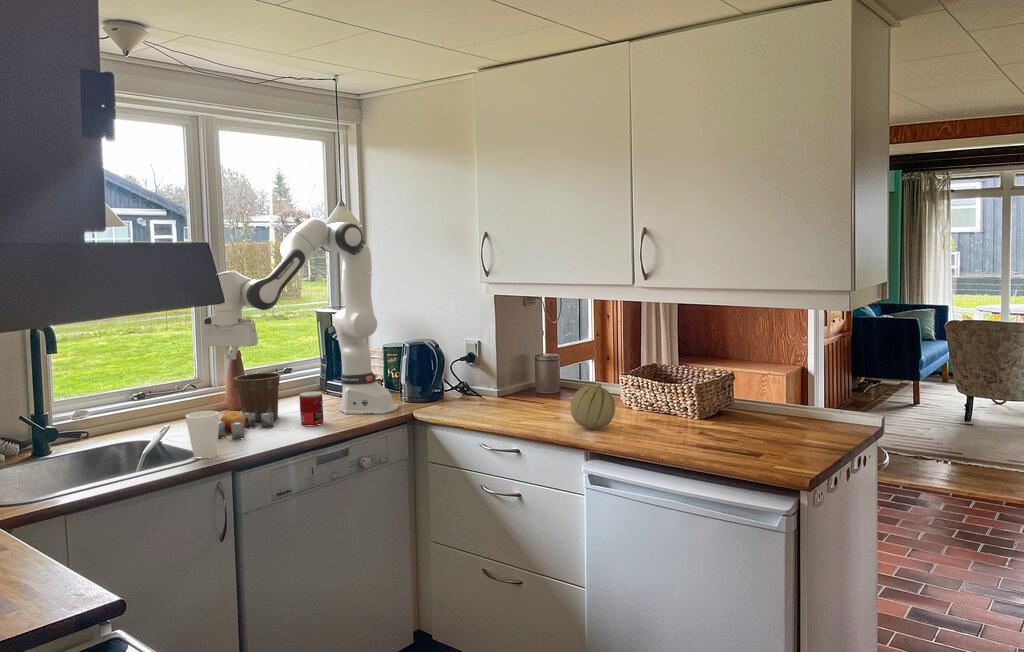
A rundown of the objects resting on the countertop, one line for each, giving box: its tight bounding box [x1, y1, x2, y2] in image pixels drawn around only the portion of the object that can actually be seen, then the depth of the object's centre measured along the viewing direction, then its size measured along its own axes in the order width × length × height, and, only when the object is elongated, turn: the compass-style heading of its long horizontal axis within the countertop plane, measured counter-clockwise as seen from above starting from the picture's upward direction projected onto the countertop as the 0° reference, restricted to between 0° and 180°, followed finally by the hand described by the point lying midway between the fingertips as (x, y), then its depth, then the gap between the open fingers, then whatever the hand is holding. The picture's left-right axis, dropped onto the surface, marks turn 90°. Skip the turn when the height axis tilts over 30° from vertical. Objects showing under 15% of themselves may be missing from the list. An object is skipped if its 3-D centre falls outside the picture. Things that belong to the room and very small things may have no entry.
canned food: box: [299, 391, 324, 426], centre depth 277 cm, size 8×8×11 cm
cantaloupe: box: [569, 382, 616, 430], centre depth 257 cm, size 15×15×15 cm
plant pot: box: [234, 372, 282, 423], centre depth 287 cm, size 16×16×16 cm
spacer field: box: [218, 410, 275, 440], centre depth 268 cm, size 17×20×5 cm
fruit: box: [220, 410, 246, 434], centre depth 269 cm, size 8×8×8 cm
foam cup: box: [185, 410, 221, 459], centre depth 236 cm, size 10×9×13 cm
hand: (231, 359), depth 266 cm, fingers closed
